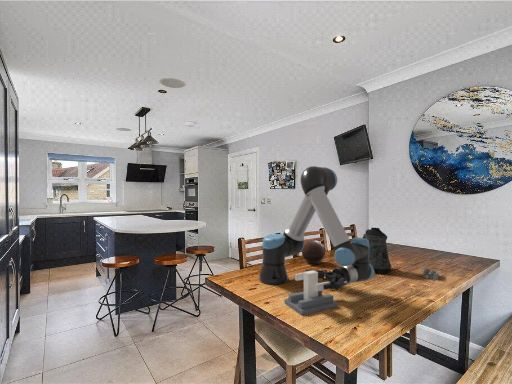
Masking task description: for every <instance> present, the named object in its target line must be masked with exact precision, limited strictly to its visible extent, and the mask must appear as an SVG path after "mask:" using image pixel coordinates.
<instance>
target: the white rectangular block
mask: <svg viewBox="0 0 512 384" xmlns="http://www.w3.org/2000/svg"><path fill="white" fill-rule="evenodd" d="M312 270H313V269H312ZM314 270H315V269H314ZM314 270H313V271H307V272H305V271H303V273H304V280H303V292H304V299H309V298H314V297H318V291H317V292H316V291H315V284H318V283H319V279H318V272H316V271H314Z"/></svg>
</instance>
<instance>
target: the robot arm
mask: <svg viewBox="0 0 512 384" xmlns="http://www.w3.org/2000/svg"><path fill="white" fill-rule="evenodd" d="M337 184H338V176H337V174H336V172H335V171H334V170H333V169H331V168H328V167H326V166H325V167H320V166H308V167H307V168H305V169H304V170H303V171H302V173H301V175H300V185H301V188H302V191H303V193H304V196H303V198H302V201H301V203H300V205H299V207H298V209H297V210H296V212H295V215H294V217H293V220H292V221H291V224H290V226H289V227H287V228H285V229H284V231H283V233H282V234H281V233H274V234H267V235H265V236H264V237H263V239H262V245H261V246H262V265H261V270H260V273H259V276H258V278H259V279H258V280H259V282H261V283H264V284H267V285H283V284H285V283H287V282H288V281H289V280H288V279H289V276H288V272H287V270H286V266H285V265H286V264H285V262H286V261H285V258H288V257H292V256H295V255H298V254H300V253H302V249H303V247H304V244H305V241H304V240H305V235H304V234H305V233H306V231H307V229H308V227H309V224H310V223H311V220H312V218H313V217H314V215H315V213H316V215H317V216H318V218H319V220H320V222H321V224H322V226H323V228H324V230H325V232H326V234H327V236H328V238H329V240H330V242H331V244H332V247H333V248H334V250H335V252H334V260H335V262H336V263H337V264H338V265H340V266H338V267H335V268H333V270H332V271H328V270H326V269H321V270H318V269H317V270H316V269H314V271H316V272H318V280H322V281H324V282H318V284H315V291H316V292H317V291H322V292H323V291H326V290H335V291H339V290H341V289H342V288H343V287H344V286H347V285H351V284H354V283H358V282H365V281H366V282H367V281H368V280H372V279H373V278H374V276H375V274H376V273H375V272H374V269H373V266H372V265H371V264H369V248H370V247H369V240H368V239H365V238H363V237H352V238H351V239H350V238H349V235H348V233H347V231H346V229H345V228H344V226H343V225H342V222H341V221H340V219H339V216H338V215H337V213H336V211H335V209H334V207H333V205H332V203H331V201H330V200H329V197H328V193H330V191H332V190H333V189H335V187H337ZM307 271H313V269H312V270H311V269H309V270H307V269H305V271H304V272H307ZM304 272H300V273H295V275H294V276H295V277H294V279H295V281H297V282H299V281H304Z"/></svg>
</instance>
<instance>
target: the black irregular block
mask: <svg viewBox="0 0 512 384" xmlns="http://www.w3.org/2000/svg"><path fill="white" fill-rule="evenodd" d="M362 238H365V239H368V240H369V247H370V248H369V264H371V265H372V266H373V269H374V272H375V273H374V274H376V275H378V274H379V275H386V274H390V273H391V271H392V270H391V269H392V264H391V262H390V258H389V257H390V256H389V252H388V246H387V240H388V235H387V234H386V233H384V232H383V231H381V229H380V228H379V227H371V229H369V228H368V229H366V230H365V233H364V234H363V236H362Z"/></svg>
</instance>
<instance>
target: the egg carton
mask: <svg viewBox="0 0 512 384" xmlns="http://www.w3.org/2000/svg"><path fill="white" fill-rule="evenodd" d="M422 274H423V278H425V279H432V280H439V275H440V270H434V269H432V270H430V268H427V267H426V266H425V267H424V269H423V271H422Z"/></svg>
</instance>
